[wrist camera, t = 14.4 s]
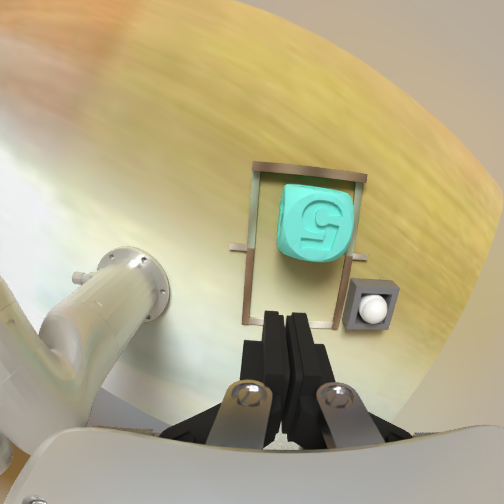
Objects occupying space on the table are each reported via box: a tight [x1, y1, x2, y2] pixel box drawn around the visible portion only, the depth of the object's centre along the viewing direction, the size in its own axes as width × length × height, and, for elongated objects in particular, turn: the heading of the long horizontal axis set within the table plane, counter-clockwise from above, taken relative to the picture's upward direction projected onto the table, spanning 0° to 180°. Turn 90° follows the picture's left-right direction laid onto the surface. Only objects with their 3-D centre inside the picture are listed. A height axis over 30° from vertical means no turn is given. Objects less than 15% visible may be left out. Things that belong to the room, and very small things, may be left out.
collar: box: [342, 278, 400, 330], centre depth 41 cm, size 7×7×3 cm
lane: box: [229, 161, 368, 329], centre depth 40 cm, size 20×24×2 cm
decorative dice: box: [277, 184, 354, 262], centre depth 36 cm, size 8×8×8 cm
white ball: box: [358, 293, 387, 324], centre depth 40 cm, size 4×4×4 cm
